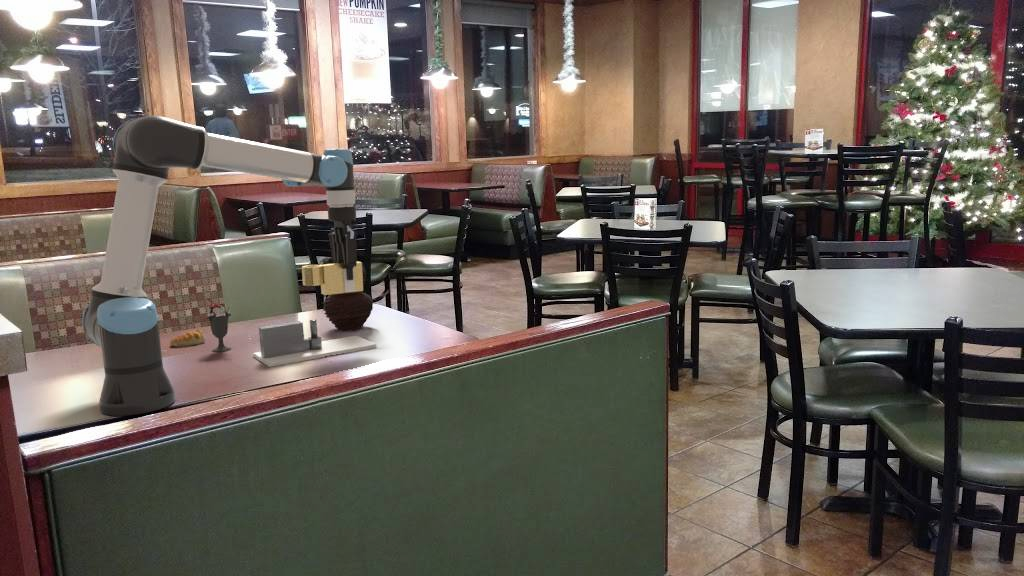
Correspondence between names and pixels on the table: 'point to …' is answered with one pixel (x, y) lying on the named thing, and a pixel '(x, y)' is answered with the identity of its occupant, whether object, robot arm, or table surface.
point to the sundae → (218, 324)
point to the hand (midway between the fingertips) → (347, 290)
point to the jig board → (320, 351)
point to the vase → (348, 305)
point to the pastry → (188, 339)
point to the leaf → (331, 277)
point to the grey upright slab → (287, 339)
